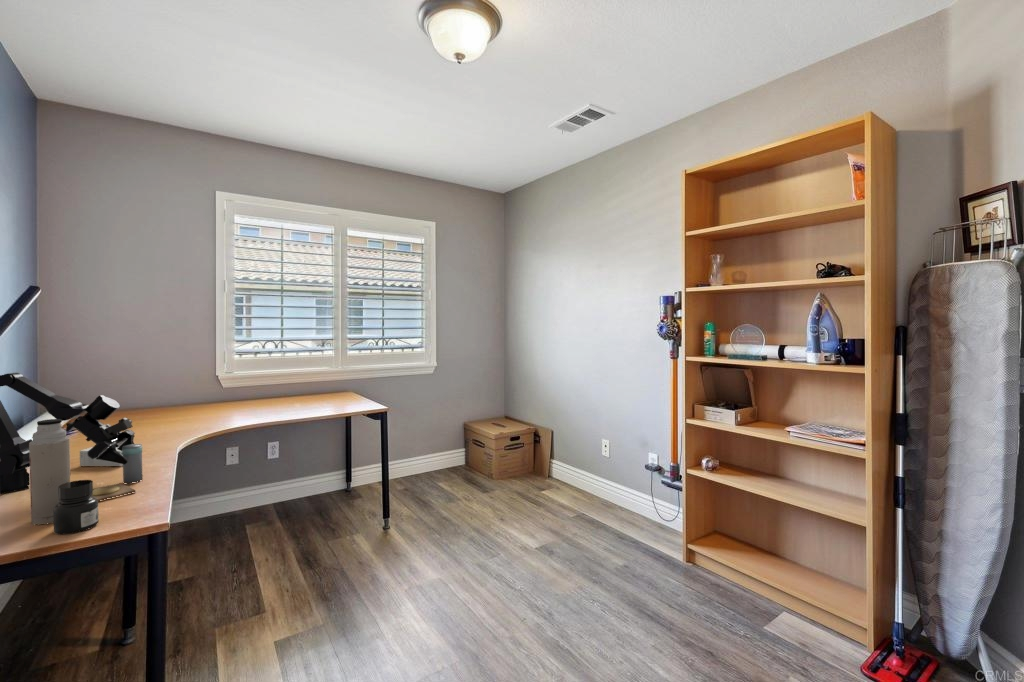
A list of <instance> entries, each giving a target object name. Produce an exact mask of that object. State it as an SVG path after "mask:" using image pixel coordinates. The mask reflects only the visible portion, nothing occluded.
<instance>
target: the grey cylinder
mask: <svg viewBox="0 0 1024 682" xmlns="http://www.w3.org/2000/svg"><path fill="white" fill-rule="evenodd" d="M122 455H123V457H124V458H125V459H126V460H127V461H128V462H127V463H126V464H123V466H122V477H123V478H122V483H123V482H124V483H132V482H137V481H140V480H142V481H143V444H142V443H134V444H131V445H126V446H123V448H122ZM124 483H123V484H124Z"/></svg>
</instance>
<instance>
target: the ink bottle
mask: <svg viewBox="0 0 1024 682" xmlns="http://www.w3.org/2000/svg"><path fill="white" fill-rule="evenodd" d="M93 489H94V482H93V480H91V479H80V480H73V481H70V482H68V483H65V484H62V485H60V486H59V487H58V498H59V501H60V502H59V503H58V504H57V505H56V506H55V507H54V509H53V520H54V523H53V532H54V533H55V534H56V535H68V534H69V535H70V534H75V532H76V533H79V531H81V532H84V531H87V530H89V529H88V528H90V529H92V528H94V527H95V526H97V525H98V524H99V518H100V517H99V502H98V500H97V499H96V498H94V497H93V496H92V494H93ZM97 523H98V524H97ZM96 524H97V525H96ZM93 526H94V527H93ZM91 527H92V528H91ZM86 529H87V530H86ZM83 530H84V531H83Z"/></svg>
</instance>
